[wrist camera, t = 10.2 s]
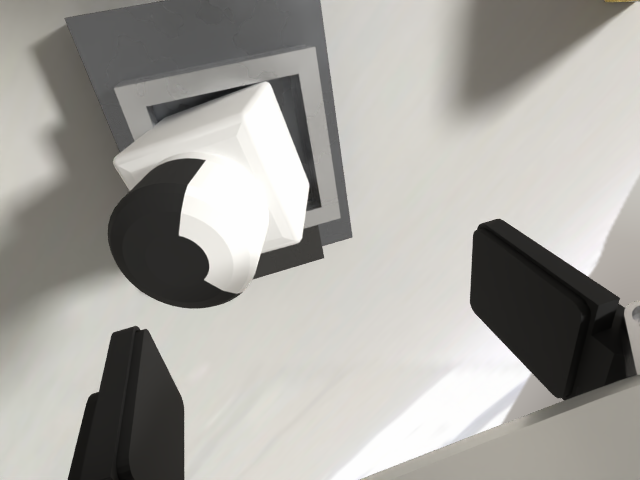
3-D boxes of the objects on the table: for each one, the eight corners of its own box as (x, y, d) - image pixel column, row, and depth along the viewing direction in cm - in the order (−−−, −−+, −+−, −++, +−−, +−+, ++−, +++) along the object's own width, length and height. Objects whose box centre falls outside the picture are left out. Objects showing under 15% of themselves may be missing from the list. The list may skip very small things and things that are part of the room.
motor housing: (76, 18, 24) (50, 17, 19) (303, -22, 27) (331, -31, 22) (176, 268, 33) (176, 311, 28) (340, 221, 36) (365, 253, 31)
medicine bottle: (214, 215, 29) (147, 343, 19) (161, 117, 25) (43, 209, 15) (311, 186, 27) (295, 308, 17) (269, 78, 24) (217, 150, 14)
